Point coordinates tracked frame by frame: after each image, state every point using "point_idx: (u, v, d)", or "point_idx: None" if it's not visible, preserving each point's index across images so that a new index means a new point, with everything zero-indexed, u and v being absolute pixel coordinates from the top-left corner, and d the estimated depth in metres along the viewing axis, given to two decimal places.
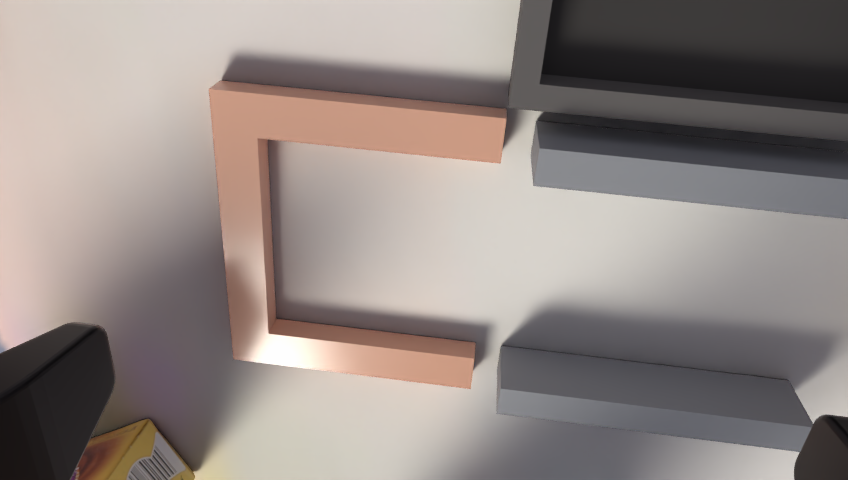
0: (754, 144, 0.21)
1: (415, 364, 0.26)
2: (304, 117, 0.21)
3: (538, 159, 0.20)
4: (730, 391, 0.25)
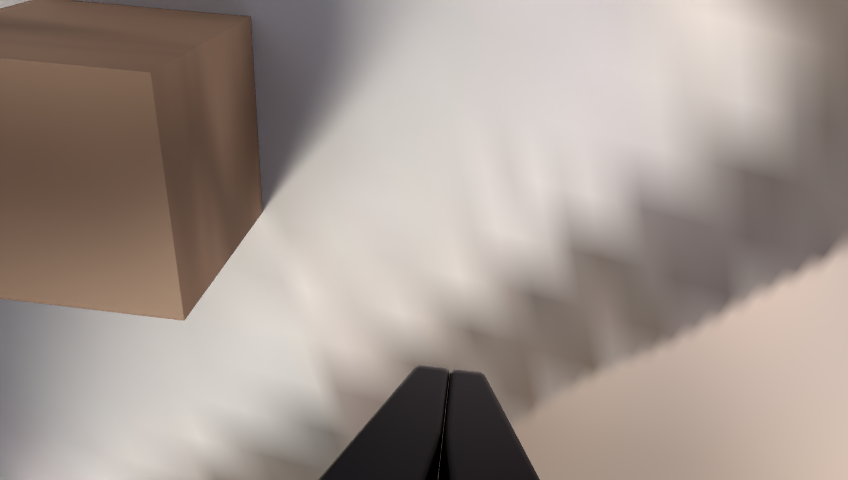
0: None
1: None
2: None
3: None
4: None
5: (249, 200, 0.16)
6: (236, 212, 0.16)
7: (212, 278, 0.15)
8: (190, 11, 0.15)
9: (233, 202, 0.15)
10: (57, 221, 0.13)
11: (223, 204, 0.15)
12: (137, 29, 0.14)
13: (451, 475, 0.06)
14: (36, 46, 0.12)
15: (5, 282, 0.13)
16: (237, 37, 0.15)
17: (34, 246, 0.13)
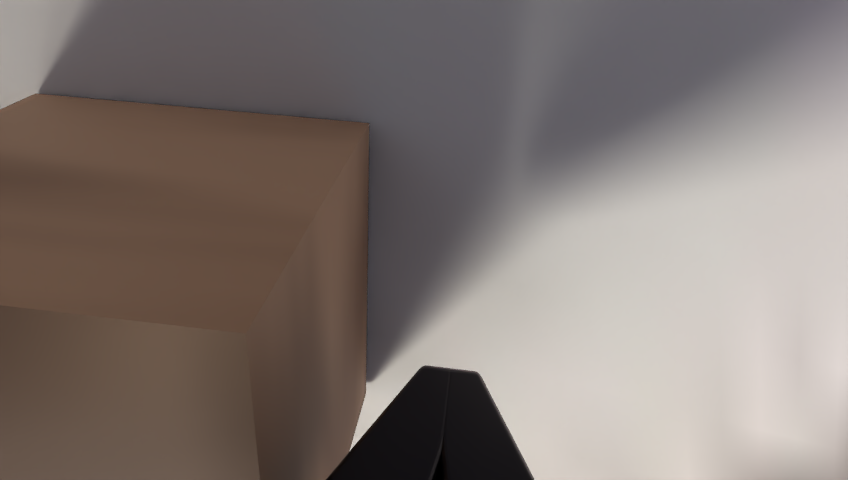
0: None
1: None
2: None
3: None
4: None
5: (354, 397, 0.11)
6: (341, 432, 0.10)
7: None
8: (269, 116, 0.10)
9: (340, 422, 0.10)
10: None
11: (330, 440, 0.09)
12: (193, 170, 0.08)
13: (445, 475, 0.06)
14: (10, 244, 0.06)
15: None
16: (354, 167, 0.09)
17: None
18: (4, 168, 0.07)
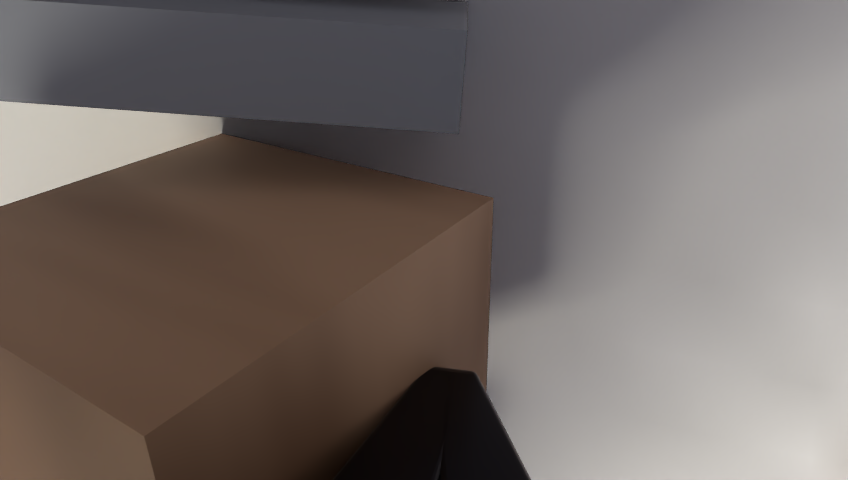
0: None
1: None
2: None
3: None
4: None
5: None
6: None
7: None
8: (397, 178, 0.09)
9: None
10: None
11: None
12: (272, 231, 0.08)
13: (441, 474, 0.06)
14: (63, 282, 0.07)
15: None
16: (450, 248, 0.08)
17: None
18: (132, 204, 0.08)
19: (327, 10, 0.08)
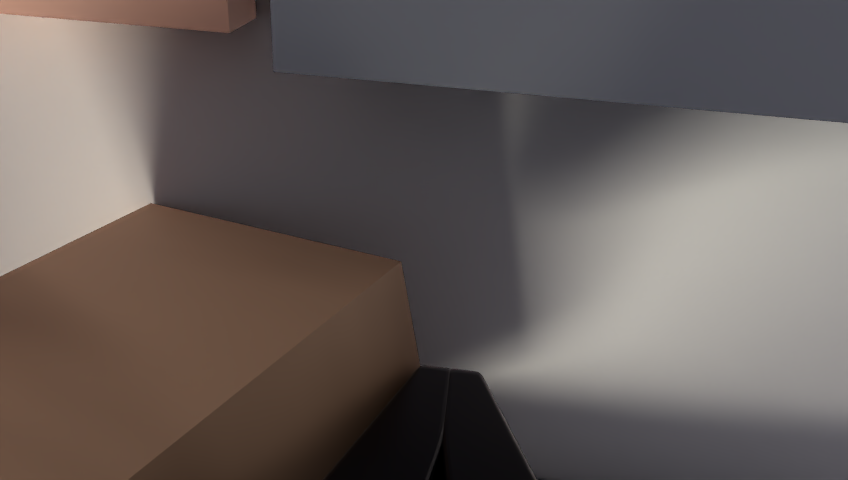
0: None
1: None
2: None
3: None
4: None
5: None
6: None
7: None
8: (308, 244, 0.08)
9: None
10: None
11: None
12: (159, 329, 0.07)
13: (448, 474, 0.06)
14: None
15: None
16: (349, 327, 0.07)
17: None
18: (32, 307, 0.08)
19: None
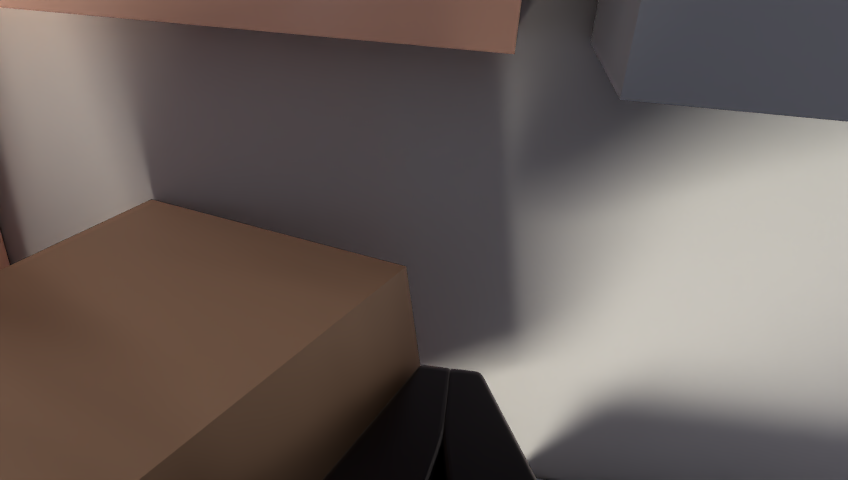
0: None
1: None
2: None
3: (641, 8, 0.06)
4: None
5: None
6: None
7: None
8: (313, 246, 0.08)
9: None
10: None
11: None
12: (164, 327, 0.07)
13: (448, 475, 0.06)
14: None
15: None
16: (354, 331, 0.07)
17: None
18: (34, 302, 0.08)
19: None
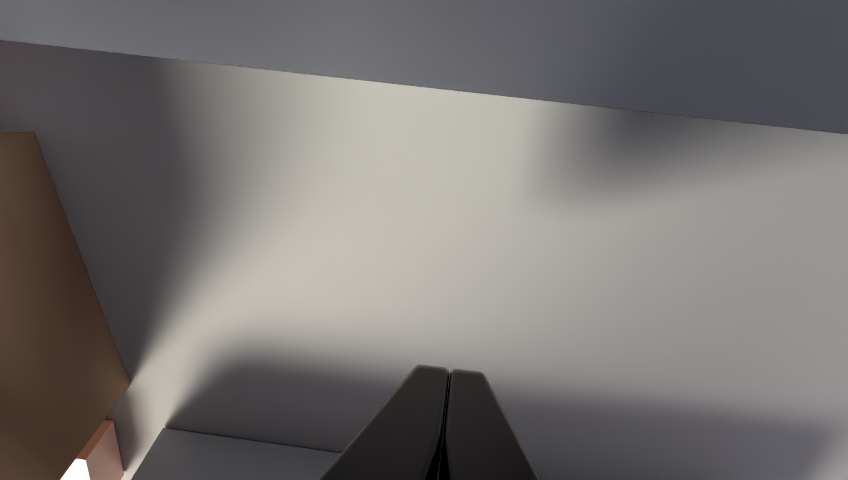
0: None
1: None
2: None
3: None
4: None
5: (90, 384, 0.11)
6: (59, 415, 0.11)
7: None
8: None
9: (48, 405, 0.10)
10: None
11: (20, 421, 0.10)
12: None
13: (451, 475, 0.06)
14: None
15: None
16: (1, 171, 0.10)
17: None
18: None
19: None
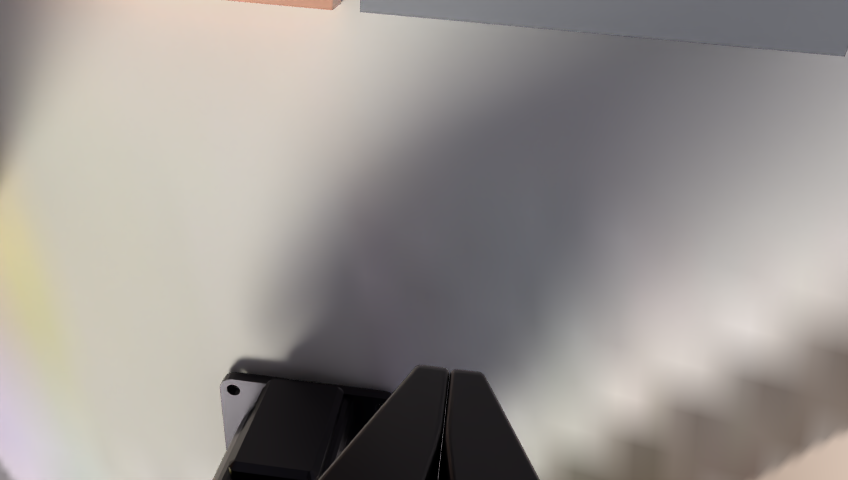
0: None
1: None
2: None
3: None
4: None
5: None
6: None
7: None
8: None
9: None
10: None
11: None
12: None
13: (451, 475, 0.06)
14: None
15: None
16: None
17: None
18: None
19: None
